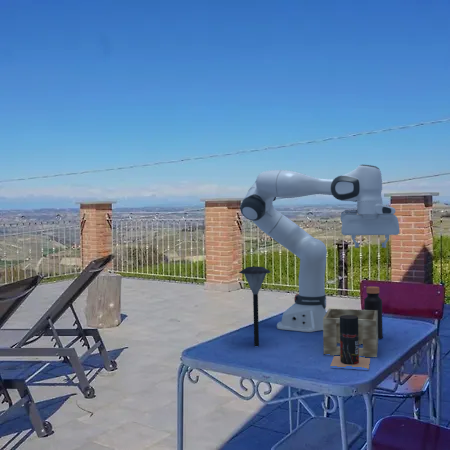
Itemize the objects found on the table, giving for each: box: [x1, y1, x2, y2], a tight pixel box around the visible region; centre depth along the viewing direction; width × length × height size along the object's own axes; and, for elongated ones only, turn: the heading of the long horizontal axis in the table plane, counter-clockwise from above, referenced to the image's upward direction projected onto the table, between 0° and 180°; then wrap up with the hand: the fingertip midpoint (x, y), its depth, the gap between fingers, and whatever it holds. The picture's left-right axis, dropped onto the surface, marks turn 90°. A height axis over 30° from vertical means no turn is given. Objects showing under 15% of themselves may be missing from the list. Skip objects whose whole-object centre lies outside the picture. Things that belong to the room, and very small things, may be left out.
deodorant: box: [339, 315, 360, 365], centre depth 171 cm, size 6×6×15 cm
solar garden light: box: [238, 266, 272, 347], centre depth 197 cm, size 12×12×30 cm
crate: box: [322, 308, 379, 358], centre depth 189 cm, size 18×18×13 cm
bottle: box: [363, 285, 384, 340], centre depth 206 cm, size 7×7×20 cm
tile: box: [329, 355, 371, 370], centre depth 172 cm, size 12×12×1 cm
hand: (370, 247), depth 188 cm, fingers open, 8 cm apart
